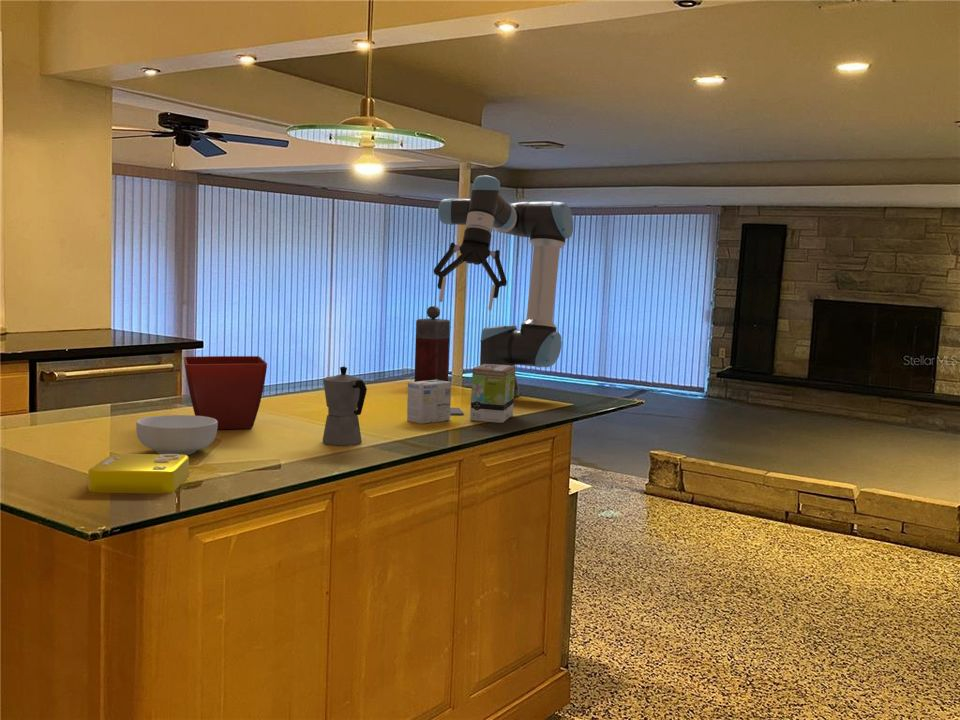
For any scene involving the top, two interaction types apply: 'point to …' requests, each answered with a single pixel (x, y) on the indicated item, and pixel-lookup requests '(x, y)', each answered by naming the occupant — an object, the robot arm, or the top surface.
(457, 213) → the robot arm
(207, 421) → the cereal bowl
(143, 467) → the element tile
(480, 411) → the tea box
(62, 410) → the top surface
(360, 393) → the coffeepot
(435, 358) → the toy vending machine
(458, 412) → the rubber mat
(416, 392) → the light bulb box
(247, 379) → the plant pot
